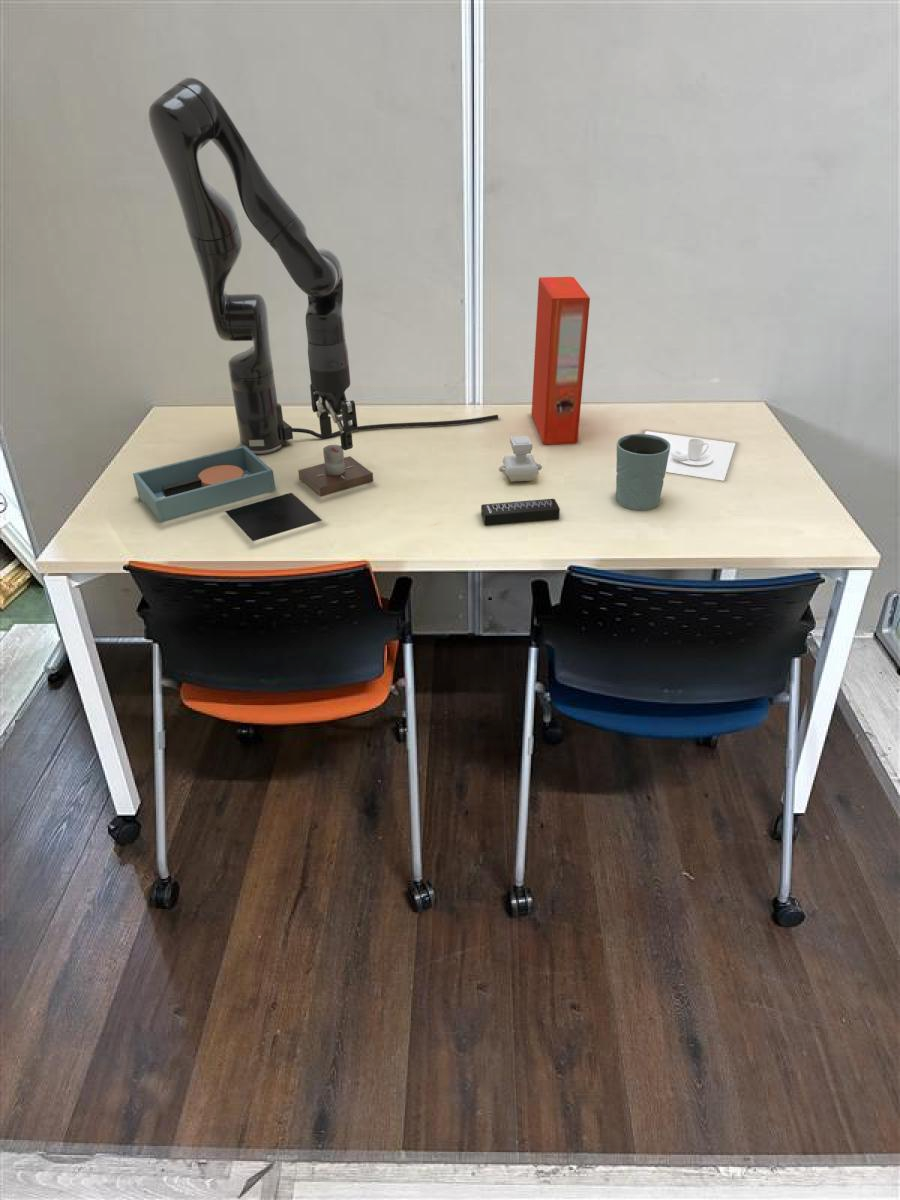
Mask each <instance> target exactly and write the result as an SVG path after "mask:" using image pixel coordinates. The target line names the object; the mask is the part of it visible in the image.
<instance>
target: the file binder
mask: <svg viewBox="0 0 900 1200" xmlns="http://www.w3.org/2000/svg"><path fill="white" fill-rule="evenodd" d="M590 302H591V297H590V296H589V294H588V293H587V292H586V291H585V289H584V288H583V287H582V286H581V284H580V283H579V282H578V280H577V279H576V278H575V277H574V276H544V277H543V276H541V277H540V276H539V277H538V287H537V303H536V304H537V305H536V322H535V323H536V324H535V343H534V345H535V346H534V360H533V362H534V363H533V378H532V379H533V380H532V398H531V399H532V400H531V417H532V419H533V422H534V424H535V426H536V429H537V432H538V434H539V436H540V439H541V442H542V444H543V445H569V444H571V445H572V444H578V441H579V432H580V431H579V430H580V428H579V427H580V420H581V419H580V418H581V407H582V396H583V394H582V393H583V385H584V373H585V372H584V371H585V362H586V361H585V359H586V348H587V339H588V338H587V337H588V326H589V315H590Z"/></svg>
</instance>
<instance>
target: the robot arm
mask: <svg viewBox="0 0 900 1200" xmlns="http://www.w3.org/2000/svg"><path fill="white" fill-rule="evenodd" d="M148 123H149V126H150V130H151V133H152V136H153V139H154V141H155V143H156V146H157V148H158V151H159V153H160V155H161V158H162V161H163V163H164V165H165V167H166V170H167V172H168V175H169V178H170V180H171V182H172V185H173V187H174V191H175V194H176V197H177V200H178V202H179V206H180V208H181V212H182V216H183V219H184V223H185V228H186V230H187V233H188V236H189V240H190V243H191V246H192V249H193V252H194V254H195V257H196V261H197V264H198V267H199V270H200V273H201V277H202V279H203V280H202V281H203V283H204V287H205V292H206V296H207V300H208V304H209V309H210V314H211V318H212V322H213V326H214V329H215V332H216V334H217V336H218V337H219V338H220V339H221V340H222V341H225V342H252V343H253V345H252V346H251V347H250V348H249V349H247V350H245V351H242V352H240V353H237V354H235V355H233V356H232V357H230V359H229V360H228V364H227V365H228V366H227V367H228V373H229V378H230V385H231V392H232V398H233V403H234V409H235V410H234V411H235V415H236V421H237V429H238V433H239V441H240V447H241V446H246V447H247V448H248V449H250V450H251V451H252V452H253V453H254V454H255V455H265V454H270V453H274V452H277V451H278V450H280V449H281V448H282V447H286V446H287V441H290V440H294V436H293V433H301V434H308V435H312V436H313V437H315V438H318V439H331V438H335V437H337V436H339V438H340V446H341V448H342V449H343V451H347V450H351V449H353V446H354V443H353V434H352V433H353V432H356V431H364V430H375V429H376V430H377V429H389V428H408V427H409V428H410V427H433V426H434V427H435V426H451V425H462V424H463V425H464V424H472V423H480V422H485V421H490V420H491V421H492V420H496V419H499V415H498V414H492V415H487V416H481V417H472V418H467V419H454V420H440V421H438V420H437V421H416V422H415V421H414V422H393V423H380V424H379V423H378V424H367V425H358V418H357V409H356V403H355V401H354V400H347V396H346V393H345V392H346V390H347V389H349V388H350V386H351V375H350V373H351V372H350V364H349V363H350V362H349V361H350V360H349V351H348V346H347V342H346V341H347V340H346V332H345V322H344V314H343V304H344V303H343V302H344V273H343V265H342V264H341V261H340V259H339V258H338V256H337V255H336V254H335V253H334V252H333V251H331V250H329V249H326V248H316V247H315V245H314V243H313V242H312V241H311V240H310V238H309V236H308V230H307V227H306V225H305V223H304V222H303V220H302V218H301V217H300V216H299V215H298V214H297V213H296V211H294V209H293V208H292V206H291V205H290V204H289V203H288V202H287V201H286V200H285V198H284V197H283V196H282V194H281V193H280V191H278V189H277V188H276V186H274V184H273V183H272V181H271V180H270V179H269V177H268V175H267V174H266V173H265V171H264V169H263V167H261V165H260V163H259V162H258V160H257V158H256V156H255V155H254V153H253V151H252V150H251V148H250V147H249V146H248V144H247V142H246V141H245V139H244V136H242V134H241V132H240V131H239V129H238V128H237V126H236V124H235V123H234V121H233V119H232V118H231V117H230V115H229V113H228V111H227V109H226V108H225V107H224V105H223V104H222V102H221V101H220V99H219V98H218V97H217V96H216V95H215V93H214V92H213V91H212V89H210V87H209V86H207V84H205V83H204V82H203V81H201V80H199V79H198V78H195V77H185V78H183V79H181V80H180V81H178V82H177V83H176V84H174V85H173V86H172V87H170V88H169V89H168V90H166V91H165V92H164V93H162V94H161V95H160V96H159V97H157V98H156V99H155V100H154V101H153V102H152V103H151V105H150V106H149V108H148ZM210 142H212V143H213V144H214V145H215V146H216V147H217V148H218V150H219V151H220V152H221V154H222V155H223V157H224V158H225V160H226V162H227V163H228V166H229V168H230V171H231V174H232V176H233V179H234V183H235V186H236V190H237V193H238V194H237V195H238V197H239V200H240V203H241V206H242V209H243V211H244V213H245V216H246V217H247V219H248V220H249V222H250V223H251V225H252V226H253V227H254V228H255V230H256V231H257V232H258V233H259V234H260V236H262V238H263V239H264V241H266V243H267V244H268V245H269V246H270V247H271V248H272V249H273V250H274V252H275V253H276V254H277V256H278V258H279V259H280V262H281V263H282V265H283V267H284V269H286V271H287V273H288V275H289V277H290V278H291V280H293V282H294V284H296V286H297V287H298V288H299V289H300V290H301V291H302V292H303V293H304V294H306V295H307V308H306V313H305V330H306V338H307V358H308V367H309V375H310V384H309V388H310V399H311V400H310V401H311V409H312V410H311V411H312V412H313V413H316V417H317V418H318V421H319V428H320V433H318V432H316V431H314V430H311V429H309V428H308V429H307V428H298V427H292V426H291V425H290V424H289V423H287V422H286V421H285V420H284V417H283V416H284V415H283V408H282V405H281V404H280V403H279V402H278V396H277V389H276V381H275V375H274V367H273V359H272V350H271V349H272V348H271V342H270V341H271V340H270V330H269V315H268V309H267V304H266V301H265V299H264V297H263V296H262V295H261V294H258V293H239V294H236V293H235V294H228V293H226V291H225V288H226V285H227V282H228V279H229V276H230V275H231V273H232V272H233V269H234V268H235V266H236V263H237V262H238V260H239V257H240V255H241V251H242V248H243V240H242V235H241V231H240V226H239V222H238V219H237V216H236V212H235V210H234V208H233V206H232V205H231V203H230V201H229V200H228V199H227V198H225V196H224V195H223V194H221V193H220V192H219V191H217V190H216V189H215V188H214V187H213V186H211V185H210V184H209V183H208V182H207V181H206V180H205V178H204V176H203V175H204V174H203V173H202V169H201V166H200V162H199V156H198V155H199V151H200V150H201V149H202V148H204V147H206V145H208V144H209V143H210ZM331 418H332V419H331ZM332 421H333V423H335V424H337V427H338V430H337V431H334V432H333V429H332Z"/></svg>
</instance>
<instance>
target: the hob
mask: <svg viewBox="0 0 900 1200" xmlns="http://www.w3.org/2000/svg"><path fill="white" fill-rule="evenodd" d="M224 512H225V513H226V514H227V515H228V516H229V517H230V519H231V520H232V521H233V522H234V523H235V524H236V525H237V526H238V527H239V528H240V530H242V532H243V533H244V534H245V535H246V536H247V538H249V539H250V540H251V541H252V542H256V541H259V540H262V539H266V538H270V537H272V536H275V535H279V534H282V533H285V532H288V531H292V530H295V529H299V528H301V527H305V526H308V525H311V524H315V523H318V522H321V521H322V520H323V519H321V517H319V516H318V515H317V513H315V512H314V511H312V509H310V508H309V507H308V506H307V505H306V504H305V503H304V502H303V501H301V500H300V498H298V497H297V496H296V495H295V494H294V493H293V492H288V493H284V494H281V495H277V496H274V497H271V498H266V499H264V500H260V501H256V502H252V503H248V504H245V505H242V506H239V507H236V508H232V509H229V510H225V511H224Z"/></svg>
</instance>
